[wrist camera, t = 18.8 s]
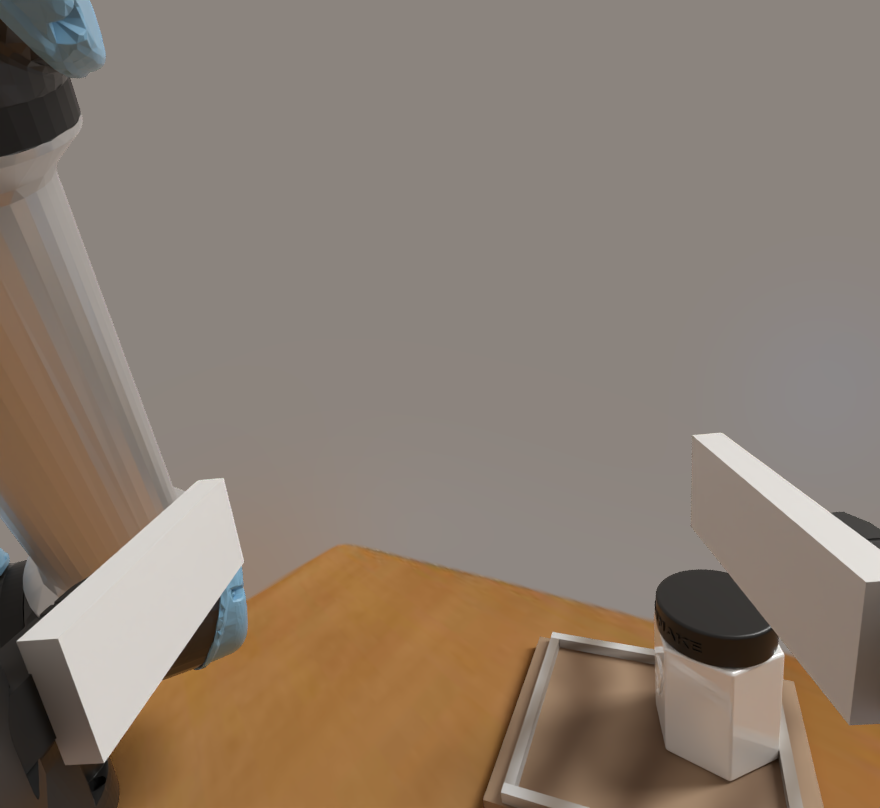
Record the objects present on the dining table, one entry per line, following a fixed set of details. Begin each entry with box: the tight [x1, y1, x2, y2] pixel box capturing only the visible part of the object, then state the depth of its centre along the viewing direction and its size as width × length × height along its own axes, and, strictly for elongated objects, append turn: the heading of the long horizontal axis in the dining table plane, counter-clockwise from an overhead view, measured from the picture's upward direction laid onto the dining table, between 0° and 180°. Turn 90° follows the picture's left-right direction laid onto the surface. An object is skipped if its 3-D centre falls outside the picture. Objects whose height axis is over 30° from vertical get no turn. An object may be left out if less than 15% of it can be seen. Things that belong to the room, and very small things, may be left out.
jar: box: [654, 570, 784, 781], centre depth 41 cm, size 9×8×12 cm
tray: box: [483, 632, 824, 808], centre depth 43 cm, size 22×18×2 cm
